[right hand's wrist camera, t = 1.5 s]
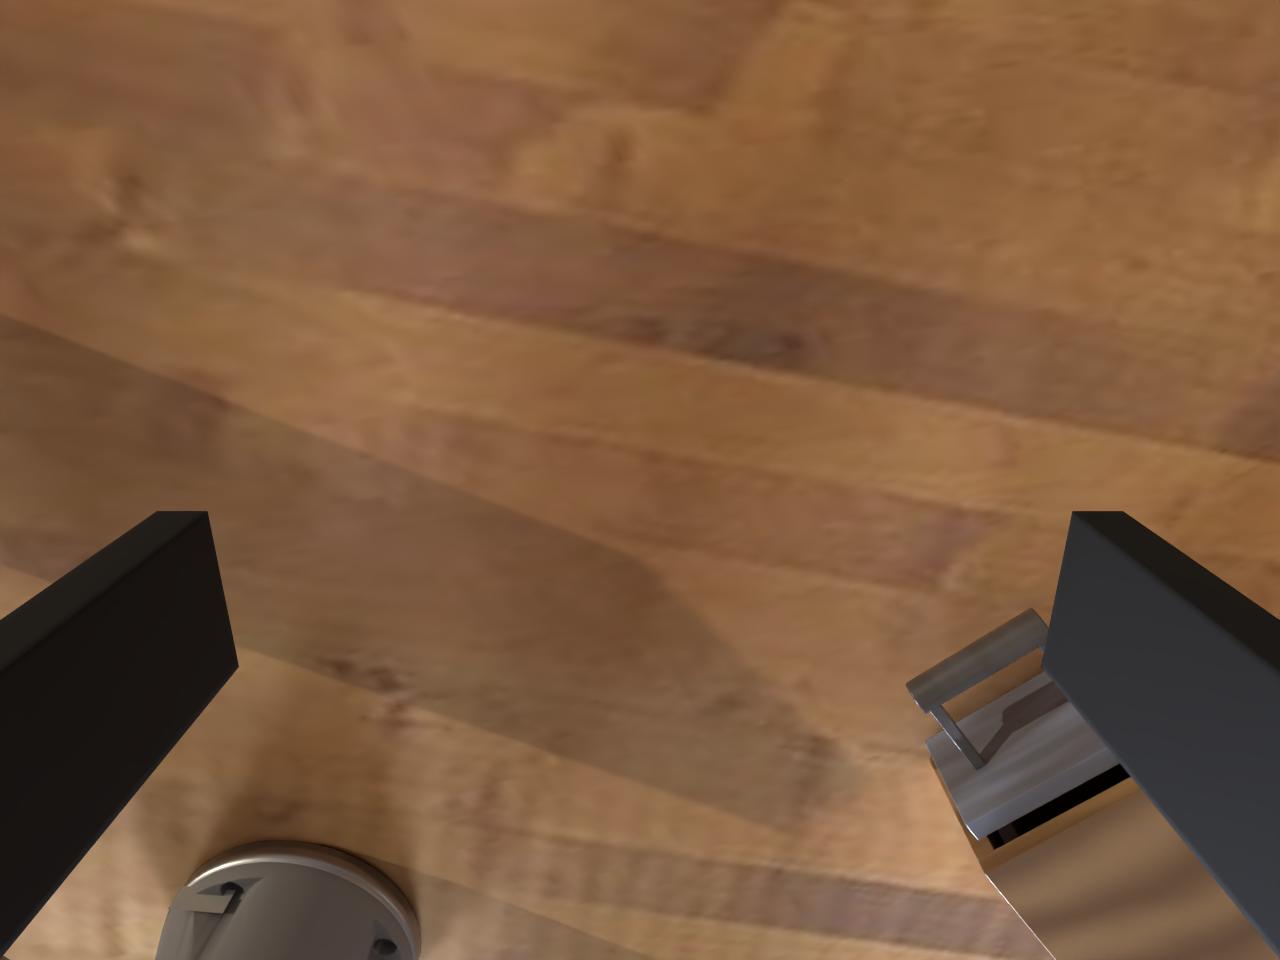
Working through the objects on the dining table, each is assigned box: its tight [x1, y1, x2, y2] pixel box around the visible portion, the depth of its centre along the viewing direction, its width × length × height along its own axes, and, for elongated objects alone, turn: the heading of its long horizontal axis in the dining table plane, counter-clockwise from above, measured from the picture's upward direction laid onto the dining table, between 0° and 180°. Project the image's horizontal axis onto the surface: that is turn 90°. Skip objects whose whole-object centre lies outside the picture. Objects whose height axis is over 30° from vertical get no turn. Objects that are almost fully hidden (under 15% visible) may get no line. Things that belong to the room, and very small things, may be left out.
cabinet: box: [929, 757, 1280, 960], centre depth 44 cm, size 21×11×8 cm, turn 38°
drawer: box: [906, 608, 1131, 844], centre depth 43 cm, size 26×10×6 cm, turn 38°
